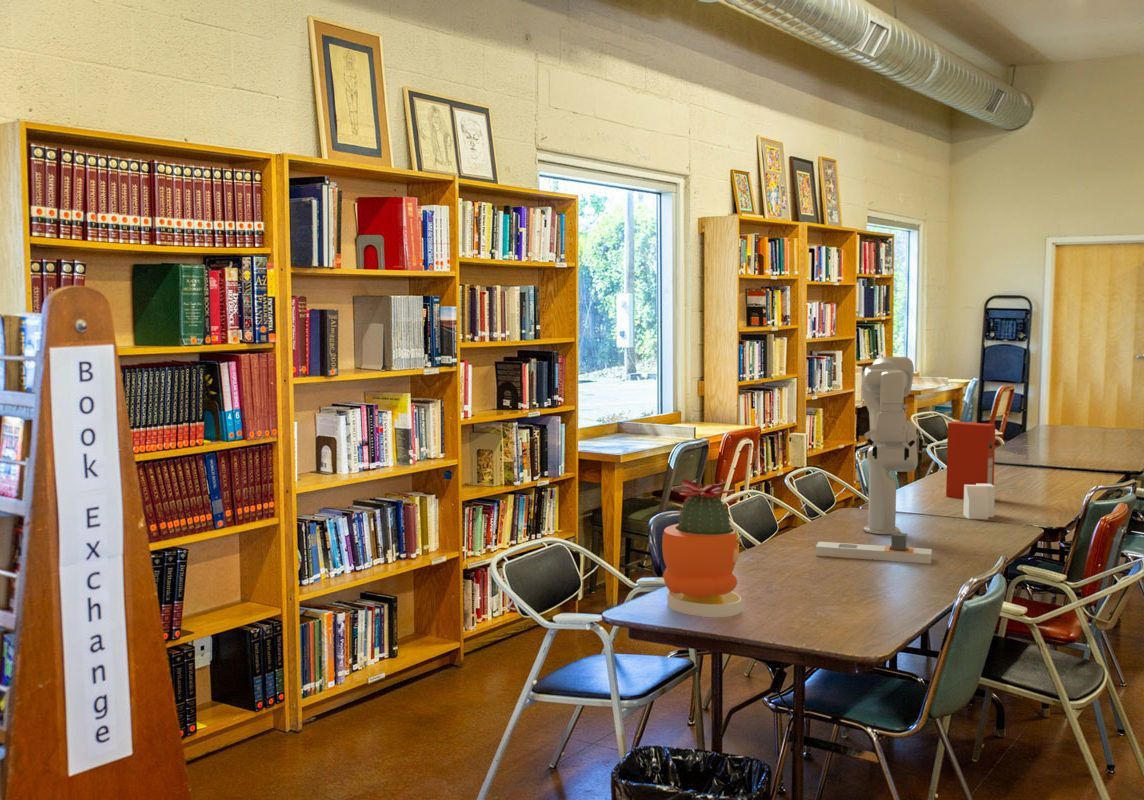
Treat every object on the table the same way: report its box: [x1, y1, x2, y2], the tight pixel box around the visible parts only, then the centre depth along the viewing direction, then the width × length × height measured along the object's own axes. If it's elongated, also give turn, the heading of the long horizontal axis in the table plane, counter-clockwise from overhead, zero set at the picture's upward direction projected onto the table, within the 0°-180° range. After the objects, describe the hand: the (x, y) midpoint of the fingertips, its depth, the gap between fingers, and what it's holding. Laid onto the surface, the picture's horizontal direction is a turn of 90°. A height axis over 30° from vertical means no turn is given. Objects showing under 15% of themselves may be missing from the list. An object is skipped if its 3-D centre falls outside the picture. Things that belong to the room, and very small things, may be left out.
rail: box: [815, 541, 933, 565], centre depth 355 cm, size 8×36×3 cm, turn 71°
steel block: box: [890, 532, 908, 551], centre depth 352 cm, size 4×4×8 cm
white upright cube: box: [962, 483, 996, 520], centre depth 423 cm, size 11×11×12 cm
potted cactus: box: [661, 479, 742, 618], centre depth 292 cm, size 22×22×35 cm
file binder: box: [945, 421, 996, 500], centre depth 463 cm, size 8×17×32 cm, turn 47°
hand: (890, 459), depth 365 cm, fingers open, 9 cm apart
